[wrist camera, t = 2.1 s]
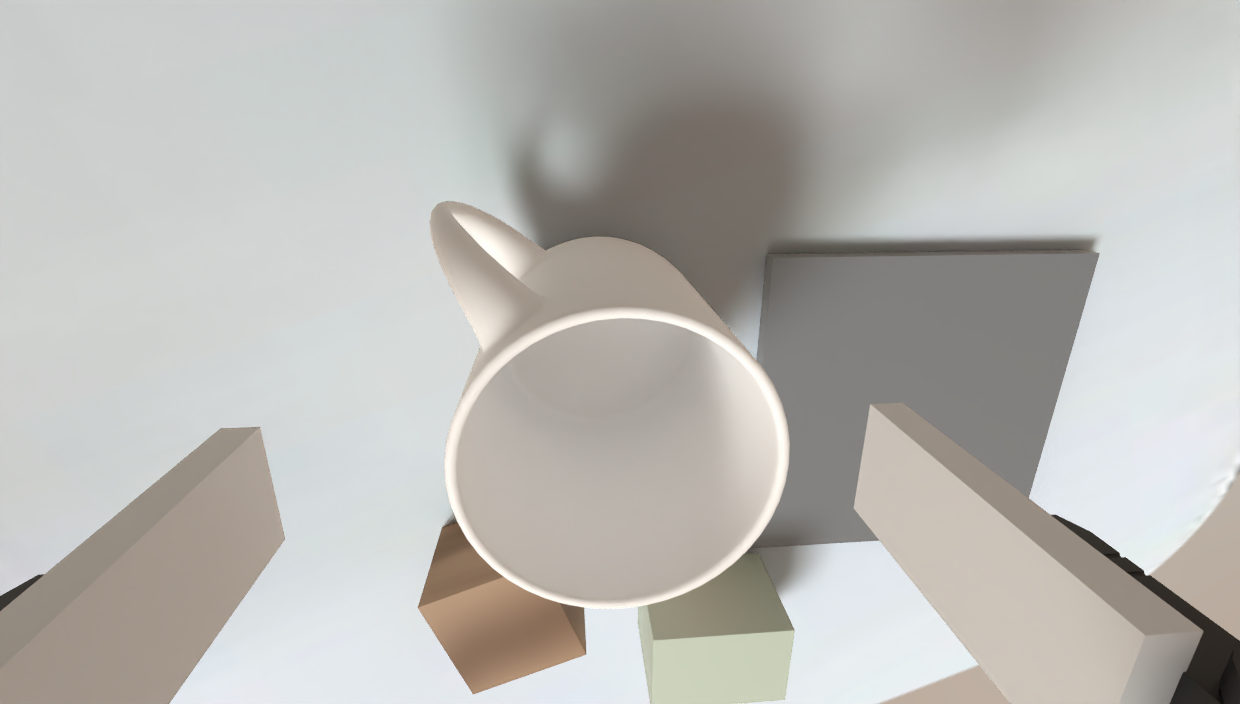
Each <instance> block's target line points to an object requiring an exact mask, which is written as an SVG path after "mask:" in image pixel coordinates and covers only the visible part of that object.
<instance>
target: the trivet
mask: <svg viewBox="0 0 1240 704" xmlns="http://www.w3.org/2000/svg"><path fill="white" fill-rule="evenodd" d="M1099 254H1100V253H1096V252H1092V251H1087V250H1027V251H955V252H883V253H811V254H766V264H765V275H764V286H763V297H762V308H761V319H760V330H759V341H758V352H757V362H758V363H759V364H760V365H761V366H762V368H763V369H764V371H765V372H766V374H767V375H768V377H769V378H770V380H771V381H772V383H773V385H774V387H775V389H776V391H777V393H778V396H779V398H780V400H781V402H782V405H783V409H784V412H785V416H786V420H787V424H788V432H789V440H790V448H789V466H788V471H787V477H786V483H785V486H784V489H783V492H782V495H781V498H780V501H779V503H778V505H777V507H776V509H775V512H774V514H773V516H772V518H771V519H770V521H769V523H768V524H767V526H766V527H765V529H764V530H763V532H762V533H761V535H760V536H759V537H758V538H757V540H756V541H755V542H754V543H753V544H752V546H751V547H750V548H760V547H777V546H794V545H811V544H828V543H844V542H861V541H878V540H879V539H878V538H877V537H876V536H875V534H874V533H873V532H872V531H871V529H870V528H869V527H868V526H867V524H866V523H865V522H864V521H863V519H862V518H861V517H860V516H859V514H858V513H857V512H856V511H855V509H854V503H855V496H856V490H857V484H858V477H859V471H860V465H861V459H862V452H863V446H864V440H865V434H866V427H867V421H868V415H869V408H870V404H885V403H903V404H905V405H906V406H907V407H909V408H910V409H911V410H913V411H914V412H915V413H917V414H918V415H919V416H921V417H922V418H923V419H925V420H926V421H927V422H928V423H930V424H931V425H932V426H934V427H935V428H936V429H938V430H939V431H940V432H942V433H943V434H944V435H946V436H947V437H948V438H950V439H951V440H952V441H954V442H955V443H956V444H958V445H959V446H960V447H961V448H963V449H964V450H965V451H967V452H968V453H969V454H971V455H972V456H973V457H975V458H976V459H977V460H979V461H980V462H981V463H983V464H984V465H985V466H987V467H988V468H989V469H991V470H992V471H993V472H994V473H996V474H997V475H998V476H1000V477H1001V478H1002V479H1004V480H1005V481H1006V482H1008V483H1009V484H1010V485H1012V486H1013V487H1014V488H1016V489H1017V490H1018V491H1020V492H1021V493H1022V494H1024V495H1025V496H1026V497H1027V498H1029V495H1030V491H1031V488H1032V484H1033V481H1034V477H1035V474H1036V471H1037V467H1038V464H1039V460H1040V457H1041V453H1042V450H1043V446H1044V443H1045V440H1046V436H1047V433H1048V429H1049V426H1050V422H1051V419H1052V415H1053V412H1054V409H1055V405H1056V402H1057V398H1058V395H1059V391H1060V388H1061V384H1062V381H1063V378H1064V374H1065V371H1066V367H1067V364H1068V360H1069V357H1070V353H1071V350H1072V347H1073V343H1074V340H1075V336H1076V333H1077V329H1078V326H1079V322H1080V319H1081V316H1082V312H1083V309H1084V305H1085V302H1086V298H1087V295H1088V292H1089V288H1090V285H1091V281H1092V278H1093V274H1094V271H1095V267H1096V264H1097V261H1098V257H1099Z"/></svg>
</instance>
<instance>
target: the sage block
mask: <svg viewBox="0 0 1240 704" xmlns="http://www.w3.org/2000/svg"><path fill="white" fill-rule="evenodd" d="M638 627H639V634H640V640H641V647H642V653H643V660H644V666H645V673H646V679H647V686H648V692H649V699H650V704H738V703H751V702H763V701H775V700H785V696H786V688H787V681H788V674H789V667H790V660H791V653H792V646H793V639H794V631H795V630H794V628H793V626H792V624H791V621H790V619H789V617H788V615H787V613H786V611H785V609H784V607H783V604H782V602H781V600H780V598H779V596H778V594H777V592H776V589H775V587H774V585H773V583H772V581H771V579H770V577H769V574H768V572H767V570H766V568H765V566H764V564H763V562H762V559H761V557H760V555H759V553H758V552H757V553H744V554H743V555H742V556H741V557H740V558H739V559H738V560H737V561H736V562H735V563H734V564H732V565H731V566H730V567H728V568H727V569H726V570H724V571H723V572H722V573H721V574H719V575H718V576H716V577H715V578H713V579H711V580H710V581H708V582H706V583H705V584H703V585H701V586H699V587H697V588H695V589H693V590H691V591H689V592H686V593H684V594H682V595H679V596H676V597H673V598H670V599H668V600H665V601H661V602H657V603H653V604H649V605H644V606H638Z"/></svg>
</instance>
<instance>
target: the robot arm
mask: <svg viewBox="0 0 1240 704" xmlns="http://www.w3.org/2000/svg"><path fill="white" fill-rule="evenodd" d="M854 509H855V511H856V512H857V513H858V514H859V516H860V517H861V518H862V519H863V521H864V522H865V523H866V524H867V526H868V527H869V528H870V529H871V531H872V532H873V533H874V534H875V536H876V537H877V538H878V539H879V541H880V542H881V543H882V544H883V546H884V547H885V548H886V549H887V551H888V552H889V553H890V554H891V556H892V557H893V558H894V559H895V561H896V562H897V563H898V564H899V566H900V567H901V568H902V569H903V571H904V572H905V573H906V574H907V575H908V577H909V578H910V579H911V580H912V582H913V583H914V584H915V585H916V587H917V588H918V589H919V590H920V592H921V593H922V594H923V595H924V597H925V598H926V599H927V600H928V602H929V603H930V604H931V605H932V607H933V608H934V609H935V610H936V612H937V613H938V614H939V615H940V617H941V618H942V619H943V620H944V622H945V623H946V624H947V625H948V627H949V628H950V629H951V630H952V632H953V633H954V634H955V635H956V637H957V638H958V639H959V640H960V642H961V643H962V644H963V645H964V647H965V648H966V649H967V650H968V652H969V653H970V654H971V655H972V657H973V658H974V659H975V660H976V662H977V663H978V664H979V665H980V667H981V668H982V669H983V670H984V672H985V673H986V674H987V675H988V676H989V678H990V679H991V680H992V681H993V683H994V684H995V685H996V686H997V687H998V689H999V690H1000V691H1001V693H1002V694H1003V695H1004V696H1005V698H1006V699H1007V700H1008V701H1009V703H1010V704H1240V641H1239V640H1238V639H1236V638H1235V637H1234V636H1232V635H1231V634H1229V633H1228V632H1227V631H1225V630H1224V629H1223V628H1221V627H1220V626H1218V625H1217V624H1216V623H1214V622H1213V621H1212V620H1210V619H1209V618H1208V617H1206V616H1205V615H1203V614H1202V613H1201V612H1199V611H1198V610H1197V609H1195V608H1194V607H1193V606H1191V605H1190V604H1188V603H1187V602H1186V601H1184V600H1183V599H1181V598H1180V597H1179V596H1178V595H1176V594H1175V593H1173V592H1172V591H1171V590H1169V589H1168V588H1167V587H1165V586H1164V585H1163V584H1161V583H1160V582H1158V581H1157V580H1156V579H1154V578H1153V577H1152V576H1146V575H1145V574H1144V571H1143V570H1142V569H1141V568H1139V567H1138V566H1137V565H1135V564H1134V563H1132V562H1131V561H1130V560H1128V559H1127V558H1126V557H1124V558H1121V557H1120V553H1119V552H1117V551H1116V550H1115V549H1113V548H1112V547H1111V546H1109V545H1108V544H1107V543H1105V542H1104V541H1102V540H1101V539H1100V538H1098V537H1097V536H1096V535H1094V534H1093V533H1091V532H1090V531H1088V530H1086V529H1084V528H1082V527H1080V526H1078V525H1076V524H1073V523H1071V522H1069V521H1067V520H1065V519H1063V518H1061V517H1059V516H1057V515H1050V514H1049V513H1047V512H1046V511H1045V510H1043V509H1042V508H1041V507H1039V506H1038V505H1037V504H1035V503H1034V502H1033V501H1031V500H1030V499H1029V498H1027V497H1026V496H1025V495H1024V494H1022V493H1021V492H1020V491H1018V490H1017V489H1016V488H1014V487H1013V486H1012V485H1010V484H1009V483H1008V482H1006V481H1005V480H1004V479H1002V478H1001V477H1000V476H998V475H997V474H996V473H994V472H993V471H992V470H991V469H989V468H988V467H987V466H985V465H984V464H983V463H981V462H980V461H979V460H977V459H976V458H975V457H973V456H972V455H971V454H969V453H968V452H967V451H965V450H964V449H963V448H961V447H960V446H959V445H958V444H956V443H955V442H954V441H952V440H951V439H950V438H948V437H947V436H946V435H944V434H943V433H942V432H940V431H939V430H938V429H936V428H935V427H934V426H932V425H931V424H930V423H928V422H927V421H926V420H925V419H923V418H922V417H921V416H919V415H918V414H917V413H915V412H914V411H913V410H911V409H910V408H909V407H907V406H906V405H905V404H903V403H885V404H870V408H869V415H868V421H867V427H866V434H865V440H864V446H863V452H862V459H861V465H860V471H859V477H858V484H857V490H856V496H855V503H854ZM284 540H285V536H284V532H283V528H282V523H281V519H280V514H279V510H278V505H277V501H276V496H275V492H274V488H273V483H272V479H271V474H270V470H269V465H268V461H267V457H266V452H265V448H264V443H263V439H262V434H261V430H260V427H248V428H221V429H219V430H218V431H217V432H216V433H215V434H213V435H212V436H211V437H210V438H209V439H207V440H206V441H205V442H204V443H203V444H201V445H200V446H199V447H198V448H197V449H195V450H194V451H193V452H192V453H190V454H189V455H188V456H187V457H186V458H184V459H183V460H182V461H181V462H180V463H178V464H177V465H176V466H175V467H174V468H172V469H171V470H170V471H169V472H168V473H166V474H165V475H164V476H163V477H162V478H160V479H159V480H158V481H157V482H156V483H154V484H153V485H152V486H151V487H150V488H148V489H147V490H146V491H145V492H143V493H142V494H141V495H140V496H139V497H137V498H136V499H135V500H134V501H133V502H131V503H130V504H129V505H128V506H127V507H125V508H124V509H123V510H122V511H121V512H119V513H118V514H117V515H116V516H115V517H113V518H112V519H111V520H110V521H109V522H107V523H106V524H105V525H104V526H102V527H101V528H100V529H99V530H98V531H96V532H95V533H94V534H93V535H92V536H90V537H89V538H88V539H87V540H86V541H84V542H83V543H82V544H81V545H80V546H78V547H77V548H76V549H75V550H74V551H72V552H71V553H70V554H69V555H68V556H66V557H65V558H64V559H63V560H61V561H60V562H59V563H58V564H57V565H55V566H54V567H53V568H52V569H51V570H49V571H48V572H47V573H46V574H44V575H37V576H35V577H34V578H32V579H30V580H28V581H26V582H25V583H23V584H21V585H19V586H18V587H16V588H14V589H12V590H10V591H9V592H7V593H5V594H3V595H1V596H0V704H169V703H170V702H171V700H172V699H173V697H174V696H175V695H176V693H177V692H178V690H179V689H180V687H181V686H182V685H183V683H184V682H185V680H186V679H187V678H188V676H189V675H190V673H191V672H192V670H193V669H194V668H195V666H196V665H197V663H198V662H199V660H200V659H201V658H202V656H203V655H204V653H205V652H206V651H207V649H208V648H209V646H210V645H211V643H212V642H213V641H214V639H215V638H216V636H217V635H218V634H219V632H220V631H221V629H222V628H223V626H224V625H225V624H226V622H227V621H228V619H229V618H230V616H231V615H232V614H233V612H234V611H235V609H236V608H237V607H238V605H239V604H240V602H241V601H242V599H243V598H244V597H245V595H246V594H247V592H248V591H249V589H250V588H251V587H252V585H253V584H254V582H255V581H256V580H257V578H258V577H259V575H260V574H261V572H262V571H263V570H264V568H265V567H266V565H267V564H268V562H269V561H270V560H271V558H272V557H273V555H274V554H275V553H276V551H277V550H278V548H279V547H280V545H281V544H282V543H283V541H284Z"/></svg>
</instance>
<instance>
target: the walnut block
mask: <svg viewBox="0 0 1240 704" xmlns="http://www.w3.org/2000/svg"><path fill="white" fill-rule="evenodd" d="M418 609H419V610H420V612H421V613H422V615H423V617H424V618H425V620H426V621H427V623H428V624H429V626H430V627H431V629H432V631H433V632H434V634H435V635H436V637H437V638H438V640H439V642H440V643H441V645H442V646H443V648H444V649H445V651H446V652H447V654H448V656H449V657H450V659H451V660H452V662H453V663H454V665H455V667H456V668H457V670H458V671H459V673H460V674H461V676H462V678H463V679H464V681H465V682H466V684H467V685H468V687H469V688H470V690H471V692H472V693H473V694H476V693H478V692H481V691H484V690H487V689H490V688H493V687H495V686H498V685H501V684H504V683H507V682H510V681H512V680H515V679H518V678H521V677H524V676H527V675H529V674H532V673H535V672H538V671H541V670H544V669H546V668H549V667H552V666H555V665H558V664H561V663H563V662H566V661H569V660H572V659H575V658H578V657H581V656H583V655H586V639H585V619H584V607H578V606H573V605H567V604H562V603H559V602H556V601H552V600H549V599H546V598H543V597H541V596H538V595H536V594H534V593H531V592H529V591H527V590H525V589H523V588H521V587H519V586H518V585H516V584H514V583H513V582H511V581H509V580H508V579H506V578H505V577H504V576H502V575H501V574H500V573H498V572H497V571H496V570H494V569H493V568H492V567H491V566H490V565H489V564H488V563H487V562H486V561H485V560H484V559H483V558H482V557H481V556H480V555H479V554H478V553H477V551H476V550H475V549H474V547H473V546H472V545H471V544H470V542H469V541H468V540H467V538H466V536H465V534H464V533H463V531H462V529H461V527H460V526H459V524H458V522H456V523H453V524H451V525H448V526H445V527H442V530H441V533H440V536H439V540H438V543H437V546H436V550H435V553H434V556H433V559H432V563H431V566H430V569H429V573H428V576H427V579H426V583H425V586H424V589H423V592H422V596H421V599H420V602H419V606H418Z"/></svg>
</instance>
